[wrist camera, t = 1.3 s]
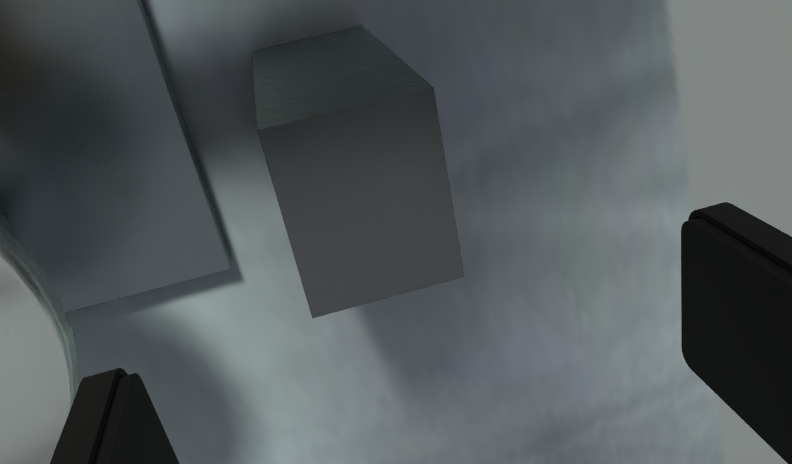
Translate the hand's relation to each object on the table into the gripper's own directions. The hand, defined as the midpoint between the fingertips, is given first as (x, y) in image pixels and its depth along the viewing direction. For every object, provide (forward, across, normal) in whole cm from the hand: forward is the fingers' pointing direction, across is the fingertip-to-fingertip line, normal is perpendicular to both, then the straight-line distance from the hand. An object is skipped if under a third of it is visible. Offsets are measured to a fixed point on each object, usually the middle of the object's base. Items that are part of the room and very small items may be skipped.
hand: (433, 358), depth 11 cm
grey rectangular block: (+16, 0, -1) cm, 16 cm away
